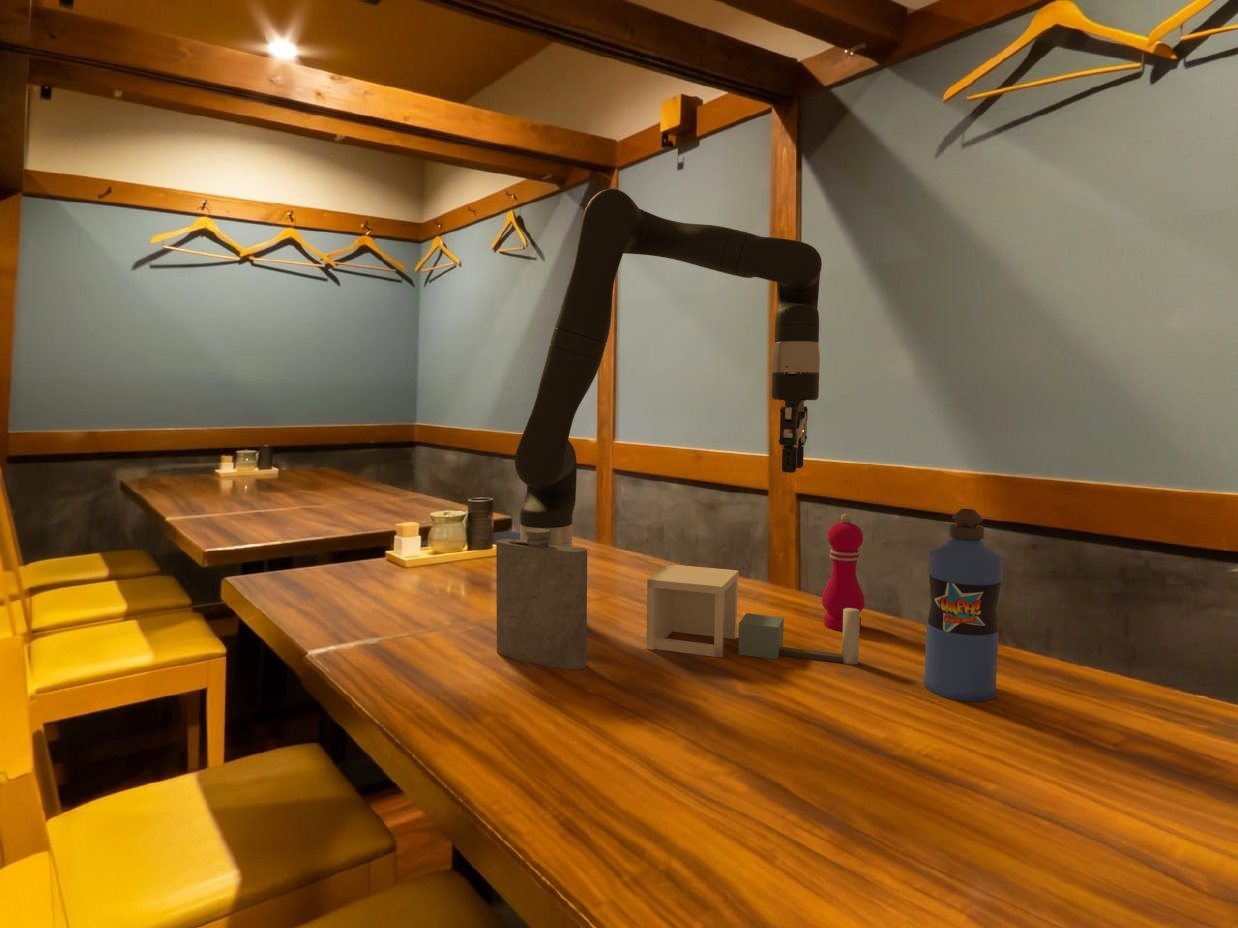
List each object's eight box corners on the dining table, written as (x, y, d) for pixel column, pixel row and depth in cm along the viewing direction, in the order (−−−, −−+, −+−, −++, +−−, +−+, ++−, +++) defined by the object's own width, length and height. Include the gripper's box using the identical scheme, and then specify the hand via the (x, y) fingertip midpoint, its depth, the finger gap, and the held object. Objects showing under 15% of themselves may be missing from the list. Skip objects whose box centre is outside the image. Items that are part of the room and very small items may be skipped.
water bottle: (992, 707, 100) (1002, 516, 97) (916, 692, 104) (924, 510, 102) (1000, 685, 107) (1009, 508, 105) (929, 672, 112) (937, 503, 110)
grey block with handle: (738, 654, 119) (739, 604, 119) (745, 643, 125) (746, 594, 124) (856, 669, 113) (858, 616, 113) (859, 656, 119) (861, 606, 118)
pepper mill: (865, 633, 131) (870, 517, 129) (822, 630, 132) (825, 515, 131) (861, 621, 138) (865, 511, 136) (819, 618, 139) (823, 509, 138)
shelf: (646, 648, 122) (647, 579, 121) (668, 628, 133) (669, 564, 132) (720, 658, 117) (722, 586, 116) (737, 636, 129) (738, 570, 128)
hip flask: (590, 664, 114) (591, 532, 113) (575, 672, 111) (576, 536, 109) (505, 647, 122) (504, 522, 120) (488, 654, 118) (488, 526, 117)
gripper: (779, 372, 133) (776, 465, 134) (764, 369, 120) (762, 472, 121) (823, 372, 130) (820, 467, 132) (814, 369, 117) (811, 474, 118)
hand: (792, 470), depth 126 cm, fingers open, 8 cm apart
